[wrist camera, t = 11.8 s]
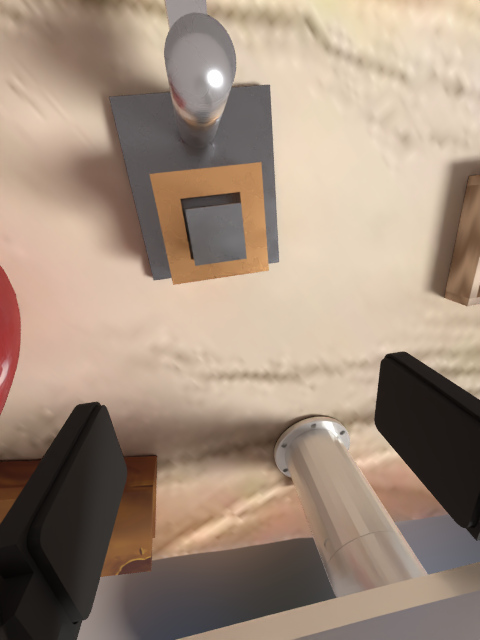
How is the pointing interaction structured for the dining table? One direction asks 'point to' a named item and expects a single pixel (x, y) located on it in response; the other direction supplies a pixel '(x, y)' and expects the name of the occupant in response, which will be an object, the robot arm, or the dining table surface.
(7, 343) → the mixing bowl
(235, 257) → the grey rectangular block
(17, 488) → the diary
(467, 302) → the wooden tray
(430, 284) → the dining table surface
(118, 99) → the grey stepped fixture
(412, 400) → the robot arm
